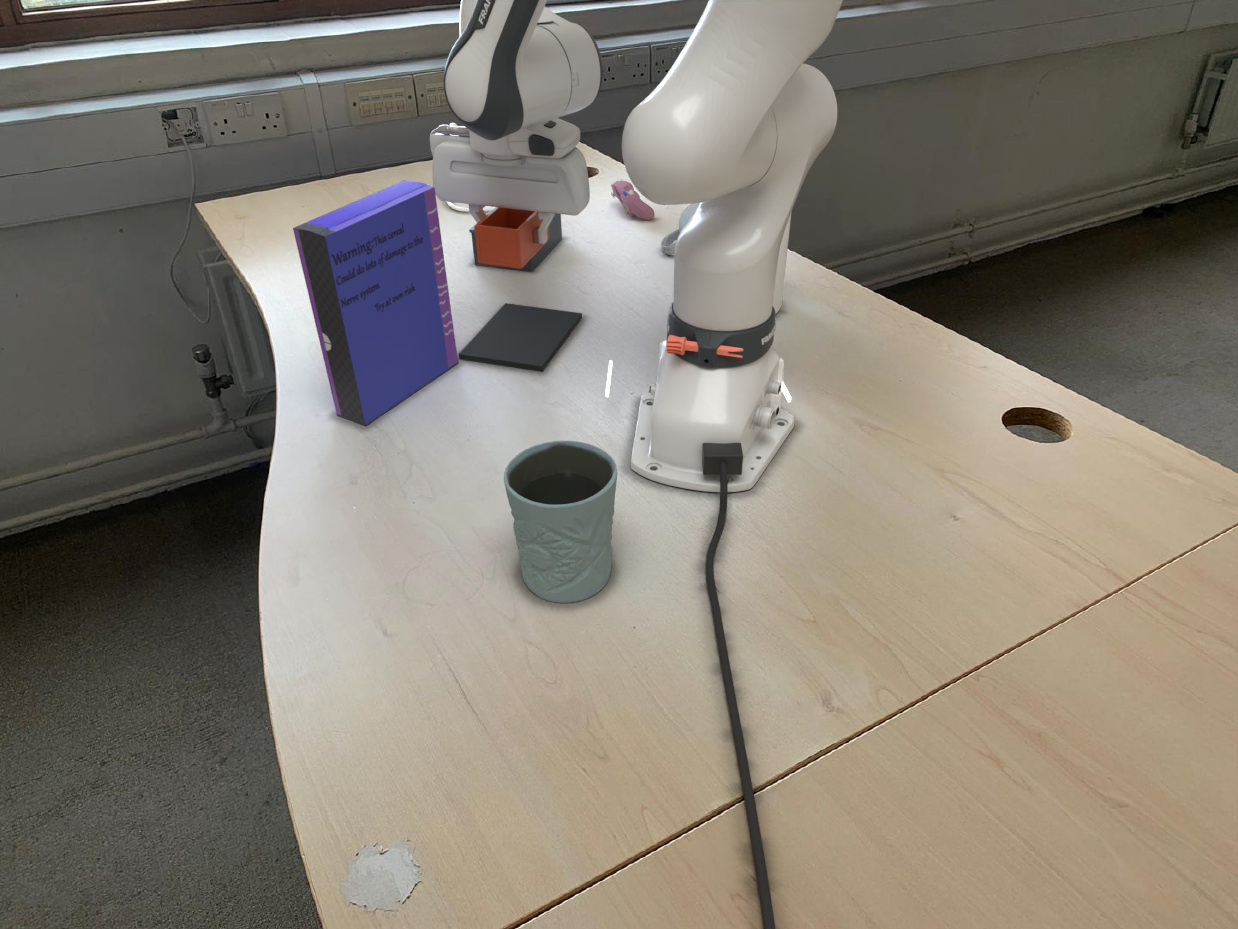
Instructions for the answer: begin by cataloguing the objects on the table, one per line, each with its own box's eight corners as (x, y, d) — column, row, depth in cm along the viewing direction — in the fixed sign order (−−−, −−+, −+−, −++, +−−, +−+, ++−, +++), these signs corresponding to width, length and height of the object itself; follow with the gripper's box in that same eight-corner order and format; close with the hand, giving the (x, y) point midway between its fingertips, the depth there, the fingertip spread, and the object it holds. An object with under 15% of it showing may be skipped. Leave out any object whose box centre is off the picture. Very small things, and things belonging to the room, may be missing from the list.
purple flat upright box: (430, 354, 122) (403, 178, 108) (458, 363, 120) (434, 185, 106) (336, 415, 110) (292, 226, 96) (365, 426, 108) (324, 234, 94)
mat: (542, 371, 118) (542, 366, 117) (459, 359, 121) (458, 353, 120) (582, 318, 130) (582, 312, 130) (505, 307, 133) (505, 302, 133)
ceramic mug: (718, 238, 153) (719, 194, 149) (730, 257, 147) (732, 211, 142) (657, 244, 152) (656, 199, 148) (666, 263, 146) (666, 217, 141)
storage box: (532, 272, 143) (530, 236, 140) (473, 265, 146) (469, 229, 142) (563, 238, 154) (562, 204, 151) (507, 232, 157) (504, 199, 153)
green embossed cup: (525, 617, 82) (515, 515, 75) (505, 547, 90) (494, 449, 83) (631, 594, 84) (631, 493, 77) (603, 528, 92) (600, 430, 85)
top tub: (521, 268, 113) (518, 230, 110) (478, 263, 115) (474, 225, 112) (549, 239, 121) (547, 202, 118) (508, 234, 123) (505, 198, 120)
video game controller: (619, 212, 168) (602, 181, 164) (640, 199, 168) (624, 167, 164) (636, 231, 161) (619, 199, 156) (658, 217, 160) (641, 184, 156)
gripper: (416, 130, 109) (431, 239, 117) (575, 144, 104) (579, 257, 112) (439, 116, 114) (452, 221, 122) (592, 129, 109) (595, 238, 117)
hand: (514, 239), depth 117 cm, fingers closed on top tub, 6 cm apart
